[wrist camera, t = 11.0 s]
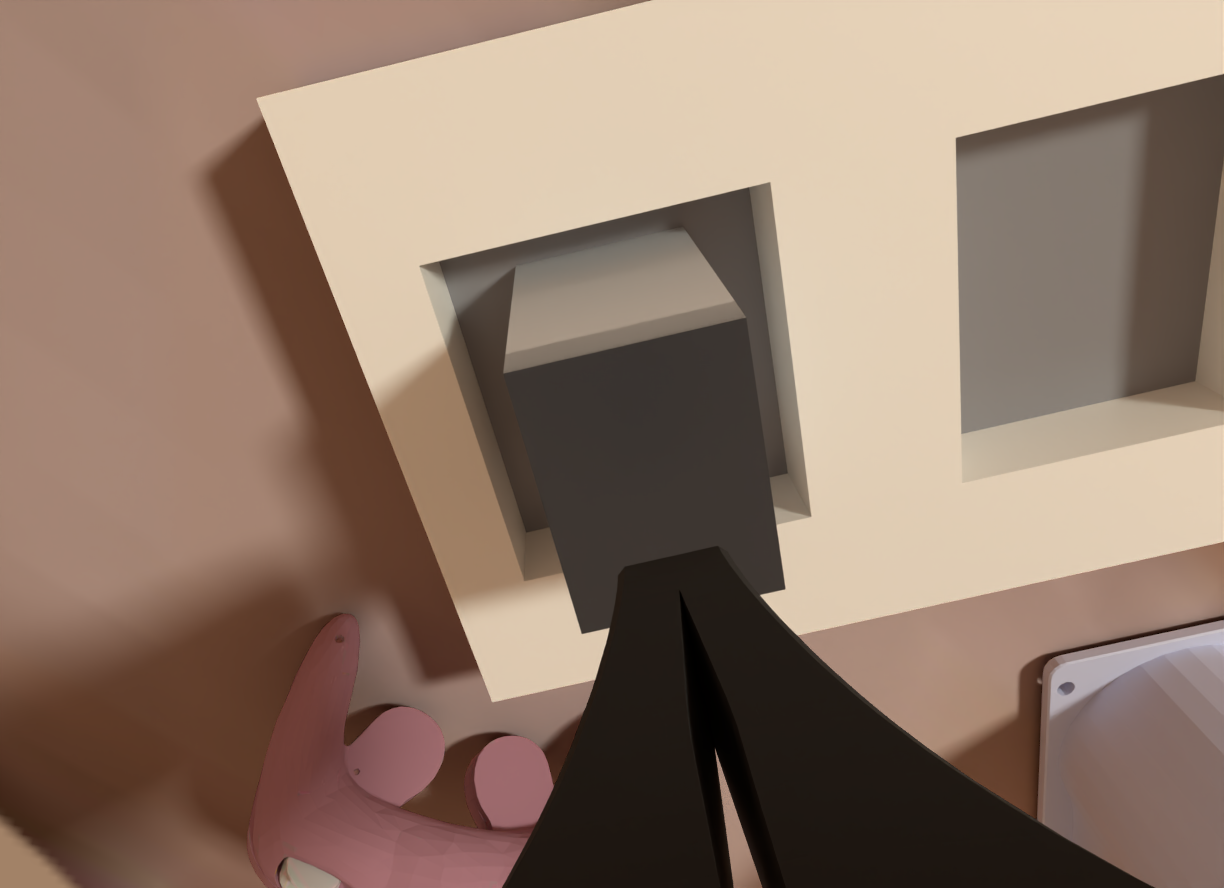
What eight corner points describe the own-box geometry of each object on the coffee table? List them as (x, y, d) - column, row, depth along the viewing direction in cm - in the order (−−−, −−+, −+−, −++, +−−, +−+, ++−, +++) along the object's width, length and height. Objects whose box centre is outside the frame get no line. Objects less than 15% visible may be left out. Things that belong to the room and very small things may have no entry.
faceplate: (1231, 471, 22) (1310, 522, 19) (497, 634, 22) (492, 702, 20) (1334, -169, 15) (1470, -203, 13) (296, 88, 16) (256, 98, 14)
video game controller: (303, 653, 24) (199, 925, 20) (324, 592, 21) (206, 903, 16) (607, 737, 26) (576, 994, 22) (671, 694, 23) (648, 988, 19)
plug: (719, 434, 19) (785, 589, 14) (571, 467, 19) (581, 634, 14) (683, 226, 17) (746, 317, 12) (515, 266, 17) (503, 373, 12)
